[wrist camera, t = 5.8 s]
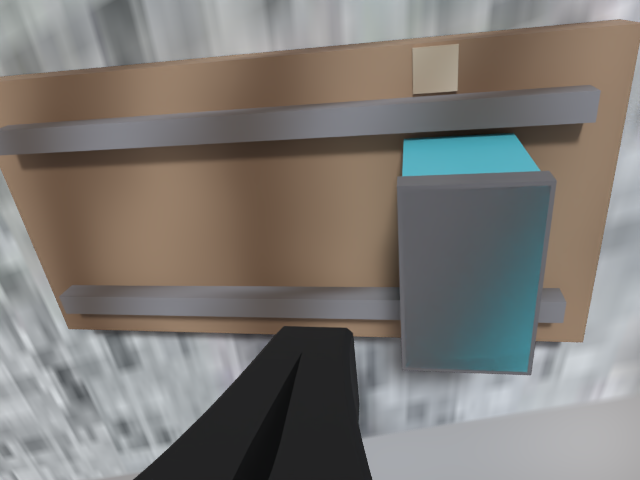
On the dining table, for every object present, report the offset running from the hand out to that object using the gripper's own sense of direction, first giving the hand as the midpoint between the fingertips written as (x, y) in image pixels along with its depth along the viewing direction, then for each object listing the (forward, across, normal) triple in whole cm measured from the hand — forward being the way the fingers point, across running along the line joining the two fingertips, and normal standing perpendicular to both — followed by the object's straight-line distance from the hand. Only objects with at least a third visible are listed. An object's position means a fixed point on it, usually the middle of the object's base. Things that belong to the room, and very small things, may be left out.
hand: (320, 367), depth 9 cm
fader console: (+9, +3, 0) cm, 9 cm away
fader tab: (+7, -3, 0) cm, 8 cm away
